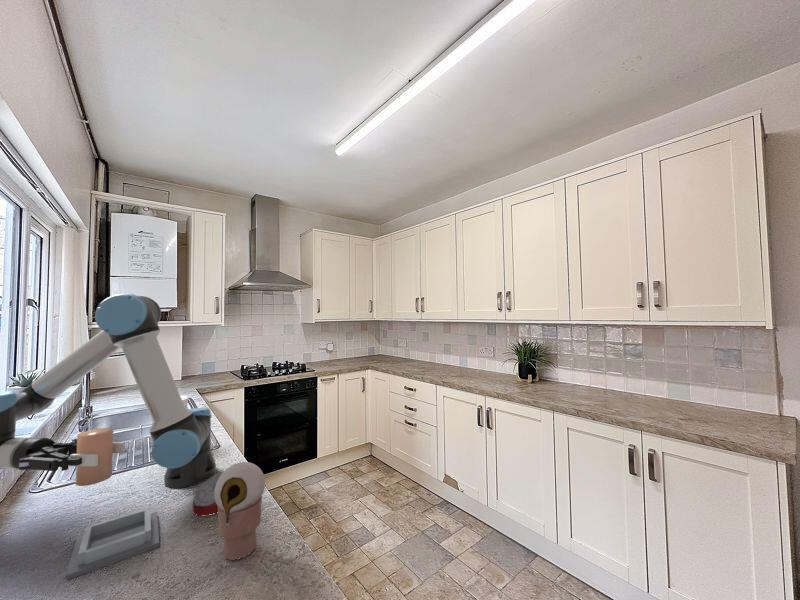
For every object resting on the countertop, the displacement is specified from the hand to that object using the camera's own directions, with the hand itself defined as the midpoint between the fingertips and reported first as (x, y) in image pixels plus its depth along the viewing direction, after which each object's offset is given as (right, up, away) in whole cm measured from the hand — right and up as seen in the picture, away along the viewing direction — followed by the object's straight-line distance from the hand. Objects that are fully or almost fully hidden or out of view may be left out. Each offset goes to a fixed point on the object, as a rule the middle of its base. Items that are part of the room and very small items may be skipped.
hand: (110, 453), depth 86 cm
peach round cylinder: (-4, -7, 0) cm, 8 cm away
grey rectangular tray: (+6, -20, -5) cm, 21 cm away
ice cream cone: (+38, -19, -8) cm, 43 cm away
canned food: (+21, -21, +10) cm, 31 cm away
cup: (-18, -23, +49) cm, 57 cm away
